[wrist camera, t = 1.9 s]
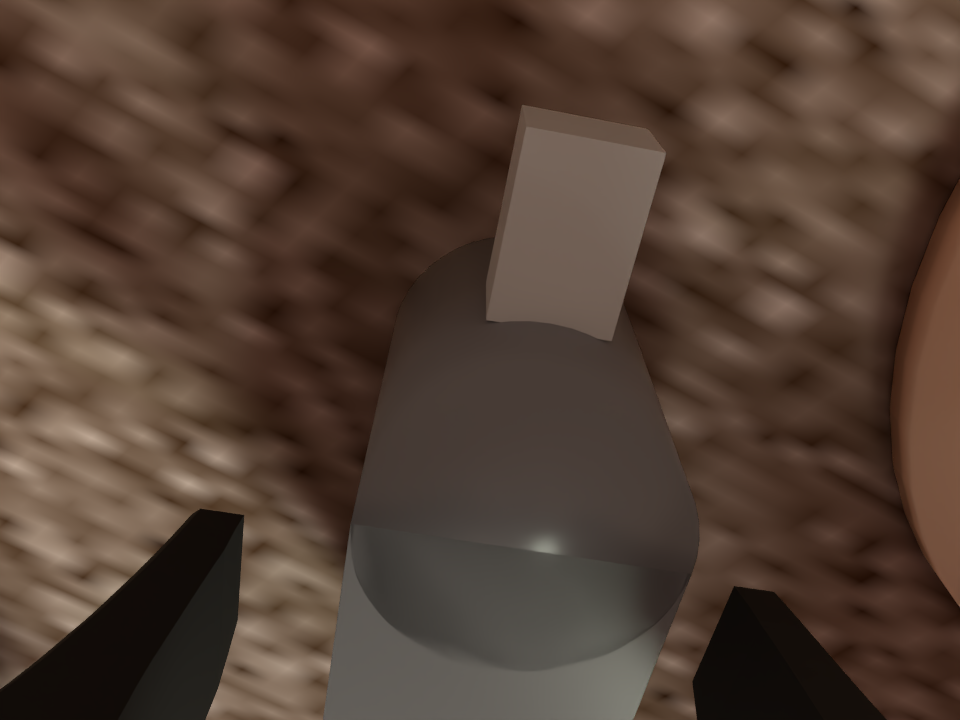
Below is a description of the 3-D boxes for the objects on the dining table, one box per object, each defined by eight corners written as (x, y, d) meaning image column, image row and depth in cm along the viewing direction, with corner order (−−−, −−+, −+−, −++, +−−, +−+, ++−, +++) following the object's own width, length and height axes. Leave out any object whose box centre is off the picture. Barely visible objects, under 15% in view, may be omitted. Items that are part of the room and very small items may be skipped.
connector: (538, 656, 17) (556, 909, 13) (348, 630, 17) (300, 880, 13) (704, 114, 12) (830, 228, 8) (434, 62, 12) (403, 148, 7)
